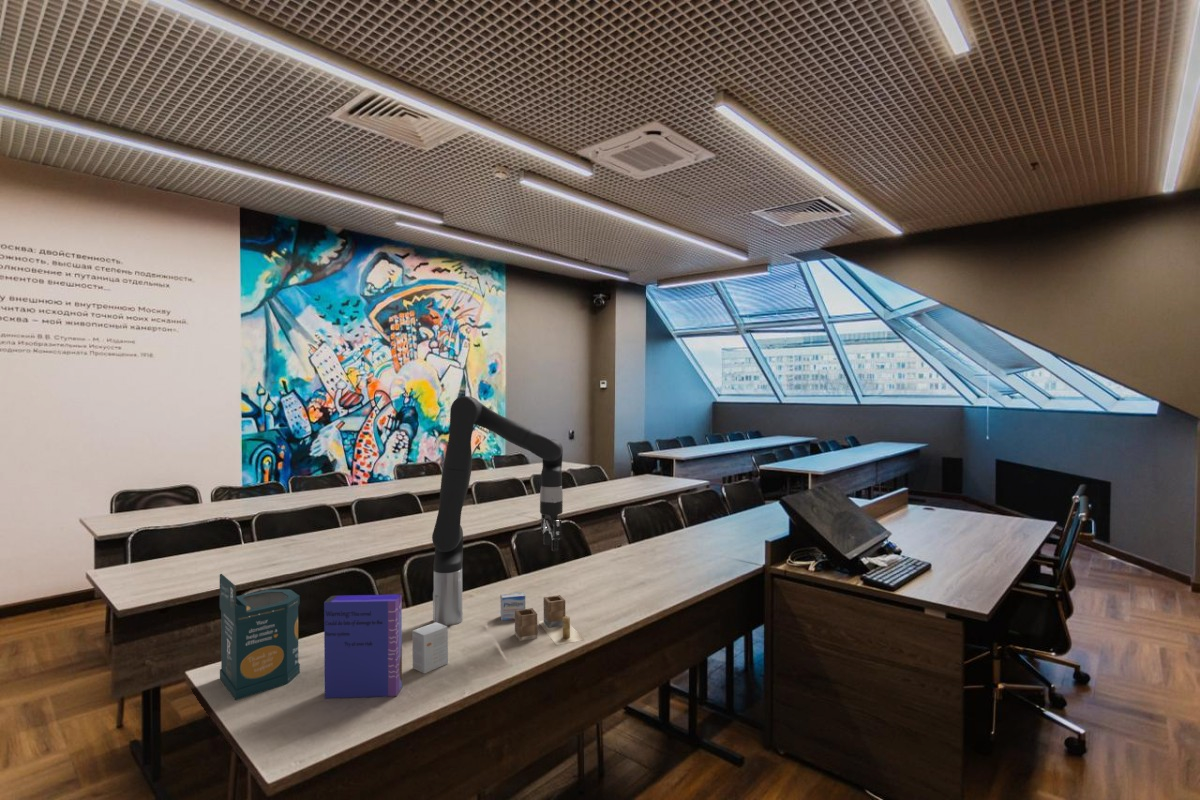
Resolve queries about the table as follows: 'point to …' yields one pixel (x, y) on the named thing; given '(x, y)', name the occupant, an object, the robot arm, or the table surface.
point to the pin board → (562, 632)
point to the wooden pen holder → (554, 611)
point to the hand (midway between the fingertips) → (551, 547)
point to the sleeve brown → (525, 624)
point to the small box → (430, 647)
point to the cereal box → (363, 646)
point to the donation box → (258, 639)
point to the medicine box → (511, 605)
